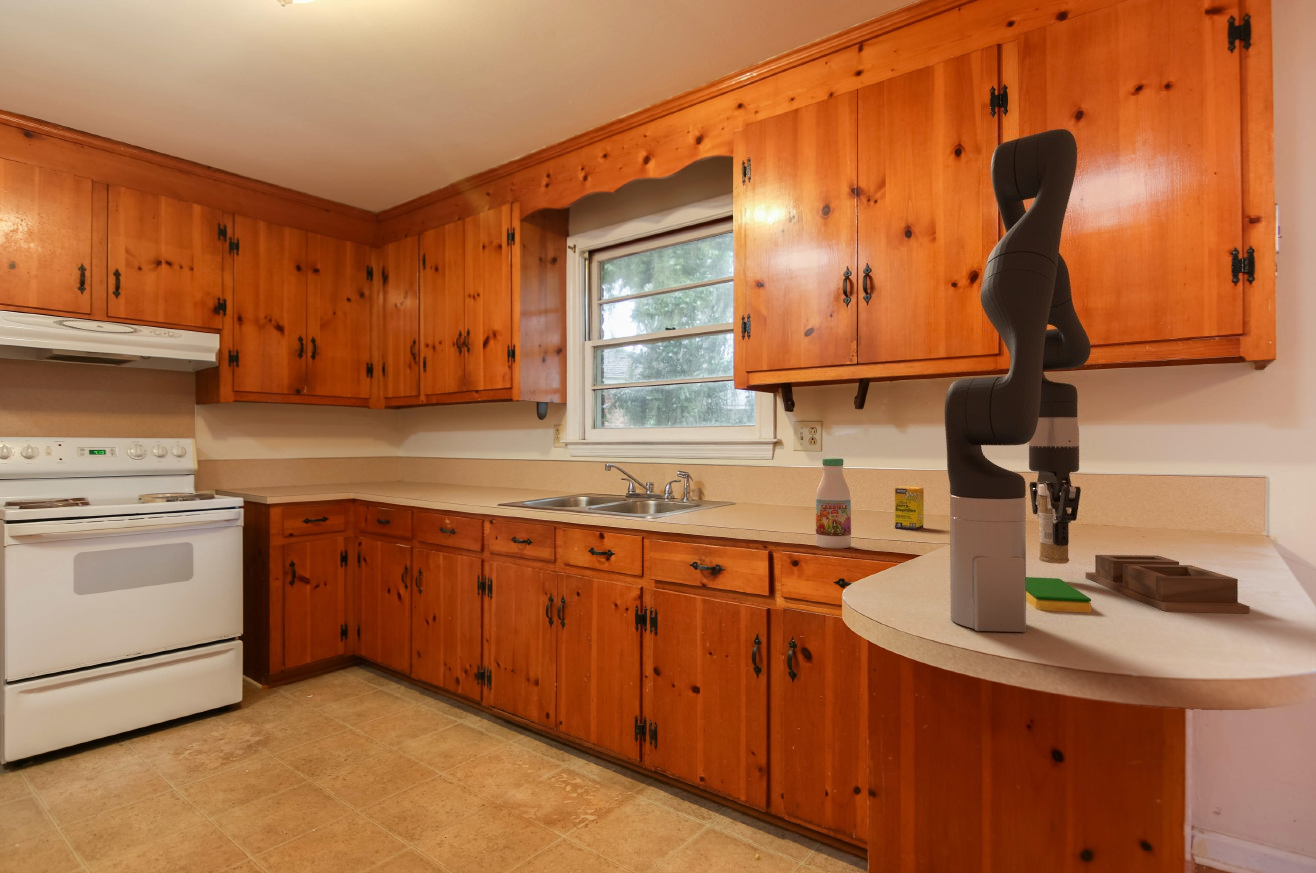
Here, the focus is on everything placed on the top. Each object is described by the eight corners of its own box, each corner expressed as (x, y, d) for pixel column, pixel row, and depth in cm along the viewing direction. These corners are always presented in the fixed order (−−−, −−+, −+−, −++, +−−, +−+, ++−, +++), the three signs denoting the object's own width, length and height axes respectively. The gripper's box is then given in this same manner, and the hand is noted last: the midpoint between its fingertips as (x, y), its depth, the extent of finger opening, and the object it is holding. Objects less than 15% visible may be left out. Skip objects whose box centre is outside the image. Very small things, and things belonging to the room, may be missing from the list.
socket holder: (1249, 613, 95) (1249, 581, 94) (1165, 611, 96) (1165, 579, 96) (1153, 578, 116) (1153, 553, 116) (1085, 577, 118) (1085, 552, 118)
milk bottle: (811, 543, 155) (810, 457, 155) (843, 543, 156) (843, 457, 156) (822, 549, 148) (821, 459, 148) (856, 548, 148) (855, 458, 148)
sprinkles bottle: (1074, 562, 115) (1074, 484, 115) (1060, 565, 113) (1060, 485, 113) (1046, 558, 119) (1046, 483, 119) (1033, 561, 117) (1033, 483, 117)
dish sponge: (1060, 592, 109) (1060, 578, 109) (1092, 615, 96) (1092, 598, 96) (1012, 590, 111) (1012, 575, 111) (1036, 612, 97) (1036, 595, 97)
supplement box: (894, 528, 178) (894, 487, 178) (901, 525, 183) (901, 486, 183) (917, 530, 175) (917, 488, 175) (924, 527, 180) (923, 486, 180)
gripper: (1099, 444, 109) (1098, 550, 109) (1057, 444, 123) (1056, 537, 123) (1049, 444, 109) (1049, 549, 109) (1013, 443, 124) (1013, 536, 124)
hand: (1053, 542), depth 116 cm, fingers closed on sprinkles bottle, 4 cm apart
